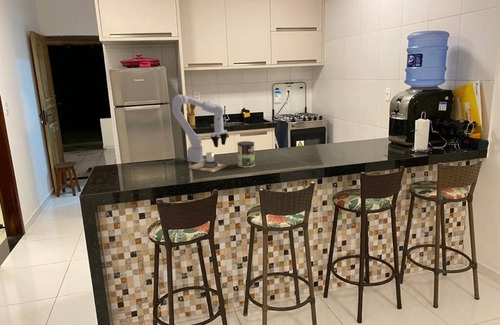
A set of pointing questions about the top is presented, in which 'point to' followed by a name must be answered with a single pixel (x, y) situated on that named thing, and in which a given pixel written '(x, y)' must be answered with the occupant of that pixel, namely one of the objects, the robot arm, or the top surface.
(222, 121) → the robot arm
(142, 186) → the top surface
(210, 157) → the aluminium piston
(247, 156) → the coffee can
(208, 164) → the steel ring
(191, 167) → the birch board
